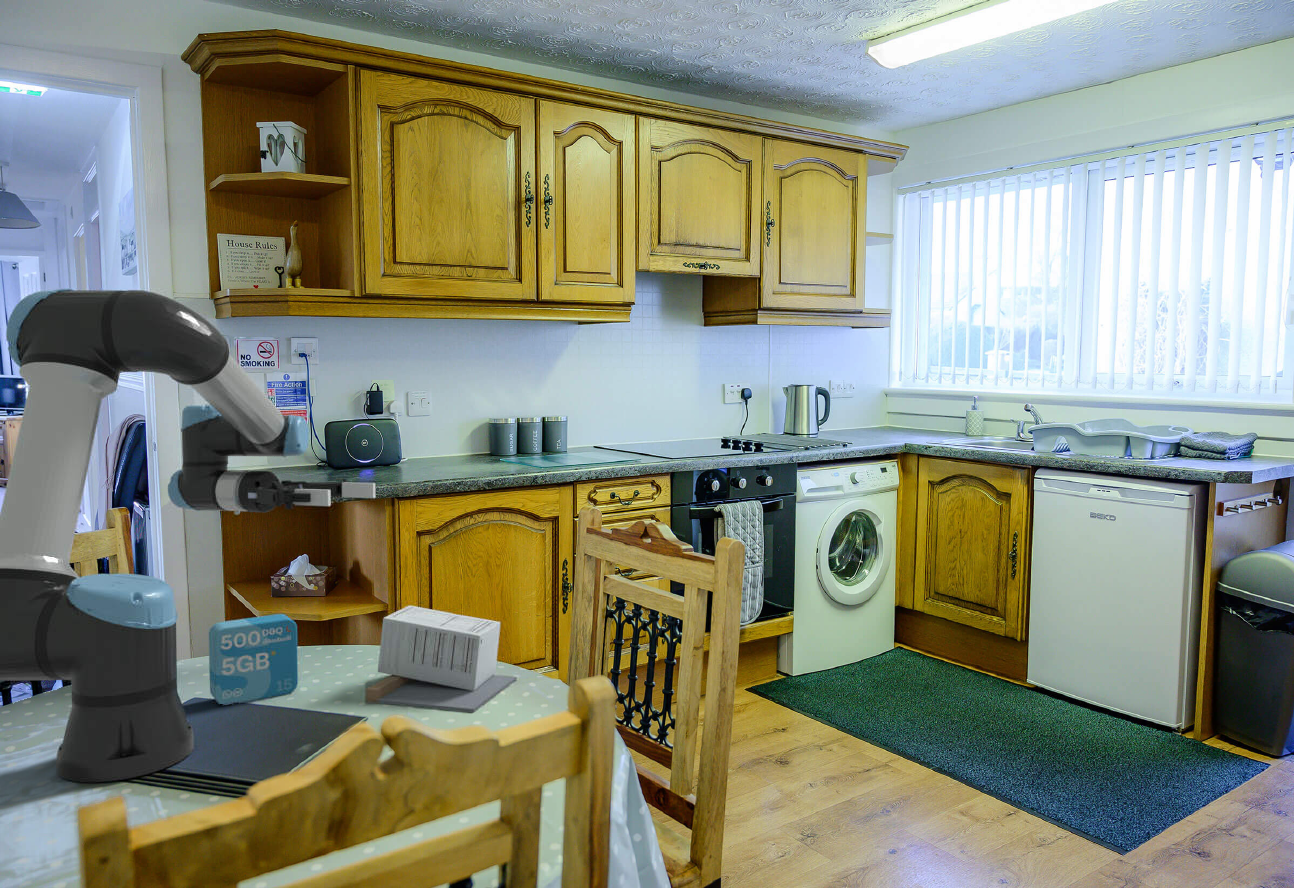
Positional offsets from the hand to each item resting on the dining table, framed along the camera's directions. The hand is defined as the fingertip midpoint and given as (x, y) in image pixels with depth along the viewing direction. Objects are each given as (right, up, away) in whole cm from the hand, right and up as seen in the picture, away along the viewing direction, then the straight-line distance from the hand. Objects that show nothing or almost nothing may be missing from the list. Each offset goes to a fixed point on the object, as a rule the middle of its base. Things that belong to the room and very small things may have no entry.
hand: (352, 494), depth 154 cm
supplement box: (+10, -23, -9) cm, 27 cm away
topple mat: (+19, -31, -14) cm, 39 cm away
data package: (-10, -31, -17) cm, 37 cm away
